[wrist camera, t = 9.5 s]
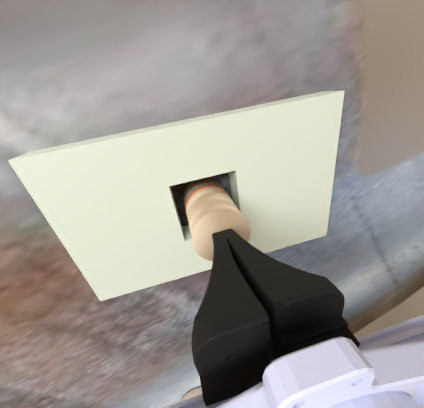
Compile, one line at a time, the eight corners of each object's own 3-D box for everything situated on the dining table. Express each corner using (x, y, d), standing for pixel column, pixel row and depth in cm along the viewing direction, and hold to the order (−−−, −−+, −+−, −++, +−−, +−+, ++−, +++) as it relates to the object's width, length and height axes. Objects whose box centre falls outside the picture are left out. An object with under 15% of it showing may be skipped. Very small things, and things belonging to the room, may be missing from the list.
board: (322, 91, 18) (344, 90, 16) (311, 223, 25) (326, 235, 23) (29, 151, 15) (8, 160, 13) (106, 281, 22) (100, 301, 20)
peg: (221, 172, 19) (249, 206, 13) (226, 209, 21) (251, 253, 15) (179, 181, 19) (187, 220, 13) (187, 218, 21) (198, 267, 15)
